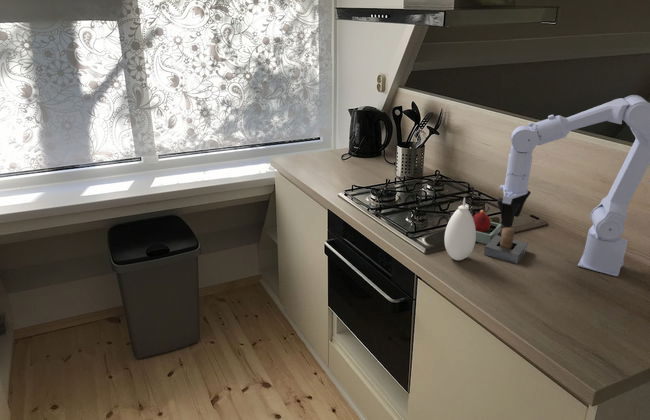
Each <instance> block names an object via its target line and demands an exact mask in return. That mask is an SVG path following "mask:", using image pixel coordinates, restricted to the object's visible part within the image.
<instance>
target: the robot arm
mask: <svg viewBox="0 0 650 420" xmlns="http://www.w3.org/2000/svg"><path fill="white" fill-rule="evenodd" d="M603 122H609V123H614V124H617V125H618V124H619V125H622V124H623V122H625V123H626V125H627V126H628V127H629V129H630V131H631V132H632V135H634V137H635V140H634V142H633V144H632V145H631V147H630V148H629V149H630V150H629V152H628V154H627V155H626V158H625V159H624V162H623V163H622V166H621V167H620V169H619V172H618V173H617V176H616V177H615V179H614V181H613V183H612V185H611V187H610V190H609V192H608V193H607V195H606V196H605V197H603V198H602V199H601V201H600V203H599V204H598V205H597V206H595V207H594V208H593V209H592V210H591V212H590V214H589V215H590V221H591V222H592V226H591V227H590V228H589V229H588V232H587V237H586V241H585V242H586V243H585V247H584V250H583V254H582V255H581V258H580V260H579V262H578V264H577V266H578V267H580V268H583V269H587V270H591V271H595V272H599V273H602V274H606V275H610V276H614V277H619V275H620V271H621V268H623V266H624V262H625V260H624V257H625V254H626V250H627V247H628V242H629V240H628V239H626V238H623V237H621V236H622V235H624V232H625V221H626V219H627V217H628V207H629V205H630V202H631V201H632V198H633V196H634V194H635V193H636V191H637V189H638V187H639V185H640V183H641V182H642V179H643V178H644V176H645V174H646V172H647V170H648V168H649V167H650V102H649V101H647V100H646V99H645V98H644V97H642V96H640V95H637V94H631V95H628V96H626V97H624V98H623V97H622V98H615V99H612V100H611V101H608V102H605V103H603V104H601V105H597V106H594V107H592V108H589V109H587V110H584V111H581V112H578V113H576V114H573V115H570V116H568V117H567V116H566V117H565V116H562V115H554V114H550V115H548V116H547V118H546V119H542V120H539V121H537V122H534V123H533V122H531V121H530V122H528V124H527V125H519V126H517V127H516V128H515V129H513V131H512V132H511V134H510V141H511V147H510V150H509V154H508V159H507V165H506V166H507V167H506V173H505V180H504V184H500V186H499V190H502V191H503V197H499V198H498V199H497V201H496V202H497V205H498V208H499V211H500V218H501V226H502V225H503V226H506V227H511V226H512V223H513V222H514V218H515V217H517V218H519V217H520V215H521V212H522V209H523V207H524V205H525V202H526V201H527V199H528V197H529V196H530V195H531V191H530V190H529V189H528V186H529V181H530V175H531V168H532V162H533V151H534V150H535V148H536V147H537V146H543V145H545V144H548V143H551V142H554V141H558V140H561V139H565V138H566V137H567V136H568V134H569V133H570V132H571V131H574V130H577V129H581V128H584V127H588V126H592V125H595V124H599V123H603Z"/></svg>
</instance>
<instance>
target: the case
mask: <svg viewBox="0 0 650 420" xmlns="http://www.w3.org/2000/svg"><path fill="white" fill-rule="evenodd" d="M491 225H493V226H495V227H496V228H495V229H494V230H493V231H492V232H489V233H487V232H485V233H482V232H478V231H476V240H475V243H476V242H477V243H480V244H483V245H484V244H485V245H487V244H488V243H489V242H490V241H491V240H492V238H493V237H494V236H495V235H498V233H499V232H500V233H501V231H502V223H498V222H494V221H491ZM498 236H499V235H498Z"/></svg>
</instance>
